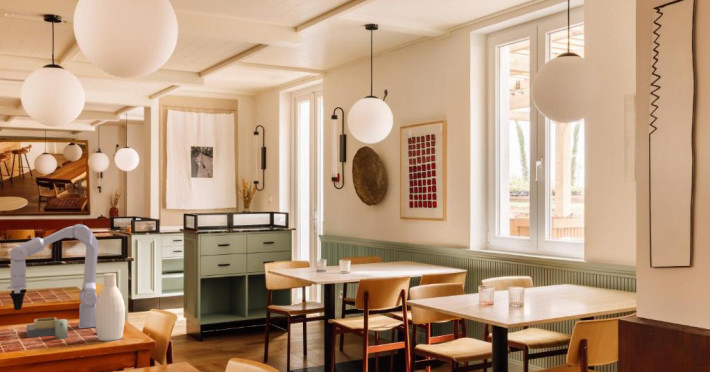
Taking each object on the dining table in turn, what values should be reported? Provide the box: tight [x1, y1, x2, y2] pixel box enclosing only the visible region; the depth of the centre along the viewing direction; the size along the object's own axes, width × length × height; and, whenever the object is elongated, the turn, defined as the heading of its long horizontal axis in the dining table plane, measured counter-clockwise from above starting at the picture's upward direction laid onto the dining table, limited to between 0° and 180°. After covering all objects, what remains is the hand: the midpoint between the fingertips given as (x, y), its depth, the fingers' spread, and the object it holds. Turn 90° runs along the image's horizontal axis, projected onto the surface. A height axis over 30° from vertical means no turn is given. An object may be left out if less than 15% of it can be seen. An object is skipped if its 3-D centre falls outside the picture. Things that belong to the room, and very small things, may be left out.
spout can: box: [54, 318, 68, 340], centre depth 269 cm, size 4×6×7 cm
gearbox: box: [26, 316, 58, 338], centre depth 278 cm, size 14×12×6 cm
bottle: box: [95, 272, 126, 342], centre depth 267 cm, size 11×11×25 cm
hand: (18, 308), depth 279 cm, fingers open, 7 cm apart
